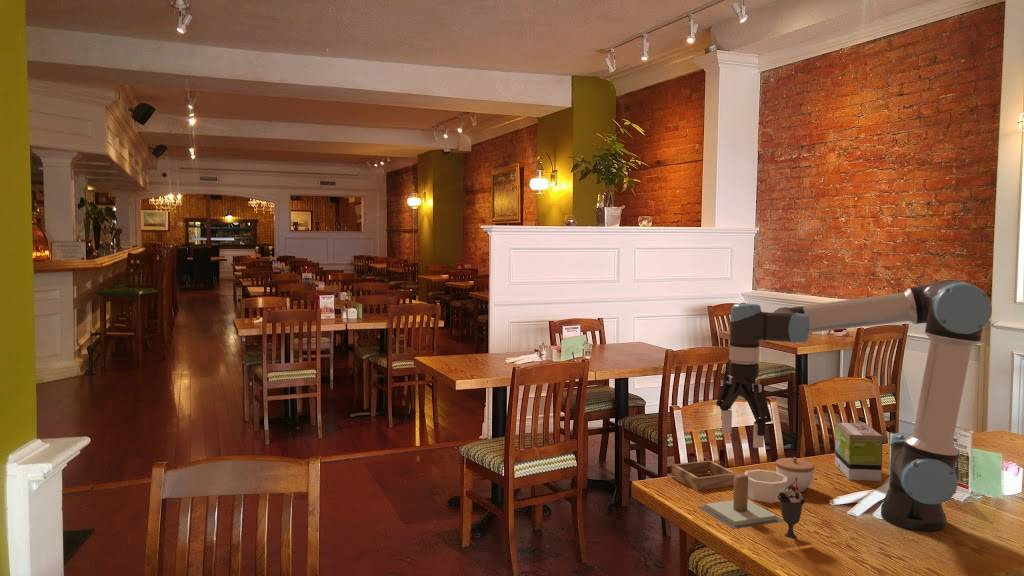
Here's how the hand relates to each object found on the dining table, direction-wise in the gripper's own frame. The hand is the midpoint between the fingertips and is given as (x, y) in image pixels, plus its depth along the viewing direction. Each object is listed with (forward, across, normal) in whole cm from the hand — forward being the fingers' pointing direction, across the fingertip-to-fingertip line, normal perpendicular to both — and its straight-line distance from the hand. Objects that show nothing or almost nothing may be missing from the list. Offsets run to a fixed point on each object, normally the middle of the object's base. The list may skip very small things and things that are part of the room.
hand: (741, 440), depth 192 cm
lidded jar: (+21, +13, -29) cm, 38 cm away
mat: (+21, 0, 0) cm, 21 cm away
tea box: (+21, +18, -58) cm, 64 cm away
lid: (+20, 0, 0) cm, 20 cm away
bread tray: (+21, +26, -6) cm, 34 cm away
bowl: (+21, +10, -16) cm, 28 cm away
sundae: (+21, -16, -3) cm, 27 cm away
